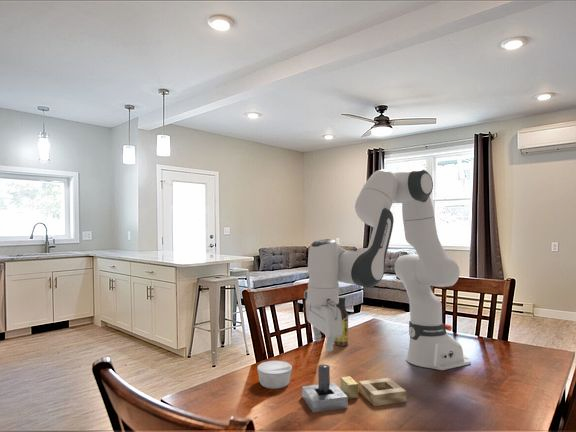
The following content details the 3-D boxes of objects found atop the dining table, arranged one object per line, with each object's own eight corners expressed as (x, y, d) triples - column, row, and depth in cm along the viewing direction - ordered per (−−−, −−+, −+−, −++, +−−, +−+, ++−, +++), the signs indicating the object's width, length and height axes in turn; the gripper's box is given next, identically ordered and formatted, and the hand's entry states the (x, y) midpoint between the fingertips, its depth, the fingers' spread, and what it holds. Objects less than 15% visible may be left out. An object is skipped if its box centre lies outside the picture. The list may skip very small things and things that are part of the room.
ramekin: (279, 393, 117) (279, 375, 117) (249, 385, 123) (249, 368, 123) (298, 380, 126) (298, 364, 126) (270, 374, 132) (270, 358, 132)
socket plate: (334, 392, 117) (334, 382, 117) (347, 407, 107) (347, 396, 107) (302, 396, 114) (302, 386, 114) (313, 412, 104) (312, 401, 105)
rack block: (388, 387, 120) (388, 377, 120) (406, 401, 111) (406, 390, 111) (358, 391, 118) (358, 381, 118) (374, 405, 108) (374, 395, 108)
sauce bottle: (348, 347, 161) (347, 298, 161) (332, 346, 162) (332, 298, 162) (348, 342, 167) (348, 295, 168) (334, 341, 168) (333, 295, 169)
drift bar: (349, 389, 119) (349, 376, 119) (358, 397, 113) (358, 383, 113) (340, 390, 118) (340, 377, 118) (348, 398, 112) (348, 384, 113)
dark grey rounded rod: (327, 399, 113) (327, 364, 113) (331, 403, 109) (331, 367, 110) (317, 400, 112) (316, 365, 112) (320, 405, 109) (320, 368, 109)
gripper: (348, 302, 102) (348, 356, 102) (321, 290, 122) (321, 335, 121) (325, 303, 100) (325, 358, 100) (302, 291, 120) (302, 336, 120)
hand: (323, 345), depth 111 cm, fingers open, 8 cm apart
